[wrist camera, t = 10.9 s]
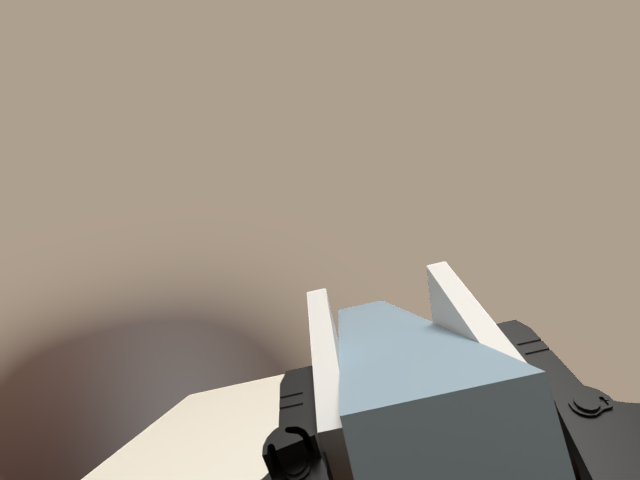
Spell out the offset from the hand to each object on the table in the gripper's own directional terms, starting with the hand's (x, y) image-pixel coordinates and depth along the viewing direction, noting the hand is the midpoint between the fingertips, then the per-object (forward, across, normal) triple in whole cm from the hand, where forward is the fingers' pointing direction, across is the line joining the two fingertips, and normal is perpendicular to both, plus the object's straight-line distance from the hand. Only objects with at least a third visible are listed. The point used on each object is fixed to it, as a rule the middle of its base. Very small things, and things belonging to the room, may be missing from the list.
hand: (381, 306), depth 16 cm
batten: (+3, 0, -6) cm, 7 cm away
